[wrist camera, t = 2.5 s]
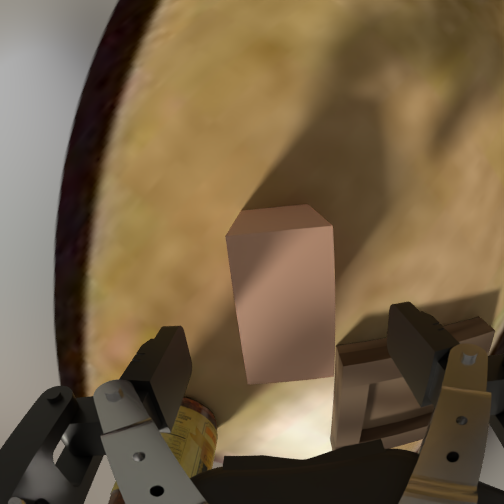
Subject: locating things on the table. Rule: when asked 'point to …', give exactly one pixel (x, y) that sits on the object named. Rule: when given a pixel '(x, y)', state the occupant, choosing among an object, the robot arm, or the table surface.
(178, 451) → the sauce bottle
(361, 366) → the cradle
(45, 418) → the robot arm
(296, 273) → the key block
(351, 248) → the table surface
